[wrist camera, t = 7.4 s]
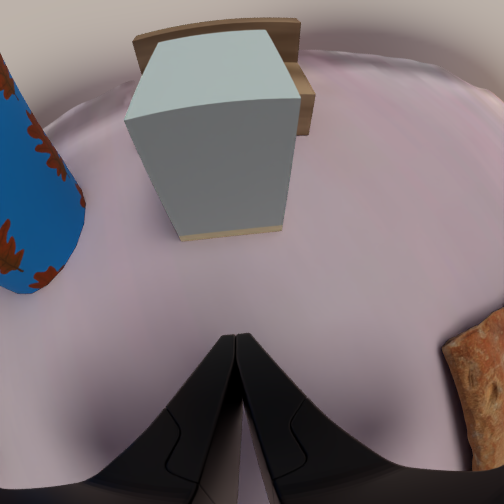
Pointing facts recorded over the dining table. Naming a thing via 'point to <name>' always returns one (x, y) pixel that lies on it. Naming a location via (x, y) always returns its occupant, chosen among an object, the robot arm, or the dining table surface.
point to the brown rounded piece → (481, 387)
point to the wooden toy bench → (278, 29)
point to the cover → (217, 132)
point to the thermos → (33, 198)
